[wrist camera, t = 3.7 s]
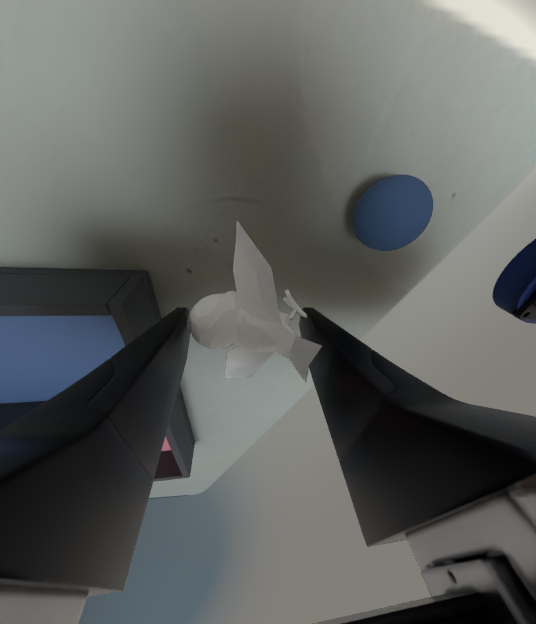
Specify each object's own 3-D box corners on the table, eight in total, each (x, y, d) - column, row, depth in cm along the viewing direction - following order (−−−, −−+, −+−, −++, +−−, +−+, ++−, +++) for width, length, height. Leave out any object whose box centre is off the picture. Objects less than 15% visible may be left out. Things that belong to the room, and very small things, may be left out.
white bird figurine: (171, 205, 7) (213, 269, 4) (290, 213, 9) (383, 258, 6) (186, 367, 11) (210, 460, 8) (262, 347, 14) (305, 414, 10)
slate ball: (413, 175, 10) (471, 181, 7) (386, 240, 12) (426, 262, 9) (353, 169, 9) (394, 174, 7) (335, 237, 11) (362, 260, 9)
